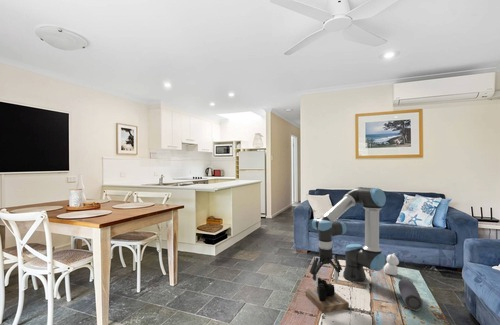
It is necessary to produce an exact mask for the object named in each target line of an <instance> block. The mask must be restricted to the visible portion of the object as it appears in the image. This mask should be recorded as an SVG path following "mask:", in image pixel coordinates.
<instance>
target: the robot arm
mask: <svg viewBox="0 0 500 325" xmlns="http://www.w3.org/2000/svg"><path fill="white" fill-rule="evenodd" d="M386 203H387V197H386V194H385V192H384V191H383V189H380V188H378V187H377V188H376V187H363V186H362V187H361V186H360V187H355V188H353V189H351V190H349V191H348V192H346V194H344V195H343V197H342V199H340V200H339V201H338V202H337V203H336V204H335V205H334V206H332V207H331V208H330V209H329V210H327V212H326V213H324V214H323V215H321V217H319V218H318V217H317V218H316V217H315V218H313V219H312V221H311V226H312V229H314V230H316V231H318V255H319V256H314V258H313V262H312V264H311V267H310V269H309V273H310V274H311V275H312V279H313V283H314V284H313V285H314V286H315V287H316V288H317V287H318V278H319V277H318V273H319V271H320V269H322V268H321V267H323V266H324V265H329V264H330V265H331V266H332V268H333V269H334V271H333V272H334V273H333V275H334V283H336V284H339V277H340V273H341V271H343V276H342V277H343V278H344V279H345V280H347V281H351V282H357V283H362V282H365V281H366V280H367V275H366V273H365V268H366V269H369V270H371V271H375V272H380V271H382V270H383V269H382V268H383V267H384V266H385V265H386V262H387V260H386V259H387V257H386V255H385V254H383V253H382V251H383V250H382V248H380V211H381V210H382V209H383V208H382V207H383V206H385V204H386ZM359 204H361V205H362V208H363V209H364V210H365V211H364V245H362V244H359V243H352V244H347V245H346V246H345V250H344V251H345V254H344V255H345V266H344V270H343V268H342V266H341V263H340V261H339V259H338V256H337V255H336V254H334V253H333V237H335V236H341V235H344V234H346V232H347V231H348V229H347V225H346V224H345V222H343V221H337V222H336V220H338V219H339V218H340V217H341V216H342V215H343V214H345V212H347V210H349V209H350V208H351V207H355V205H359ZM332 260H333V261H334V262H333V261H332Z"/></svg>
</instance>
